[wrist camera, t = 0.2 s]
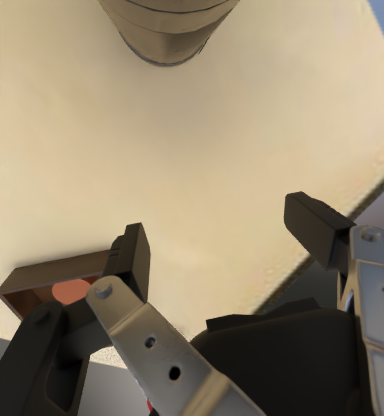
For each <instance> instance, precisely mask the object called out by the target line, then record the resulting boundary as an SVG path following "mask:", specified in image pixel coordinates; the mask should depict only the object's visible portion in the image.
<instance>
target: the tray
mask: <svg viewBox="0 0 384 416" xmlns="http://www.w3.org/2000/svg"><path fill="white" fill-rule="evenodd" d="M109 253H110V250H107V251H102V252H97V253H92V254H87V255H82V256H76V257H71V258H66V259H61V260H56V261H51V262H46V263H41V264H36V265H31V266H26V267H21V268H16V269H14V270H13V272H12V273H11V274H10V275H9V276H8V278H7V279H6V280H5V281H4V282H3V284H2V285H1V286H0V299H1V300H2V301H3V302H4V303H5V304H6V305H7V306H8V307H9V308H10V310H11V311H12V312H13V313H14V314H15V315H16V316H17V317H18V318H19V319H20V320H21V322H22V321H23V319H24V318H25V317H26V315H27V314H28V313H29V312H31V311H32V310H33V309H34V308H36V307H37V306H39V305H41V304H42V303H45V302H48V301H52V300H56V301H58V300H57V299H56V298H55V297H54V296H53V294H52V287H53V285H54V284H56V283H61V282H66V281H71V280H76V279H81V278H86V277H90V276H94V277H95V278H96V279H97V280H99V279H101V277H102V274H103V271H104V268H105V265H106V262H107V259H108V257H109ZM62 305H63V306H66V304H63V303H62ZM110 346H113V344H112V343H111V344H109V345H107V346H105V347H104V348H106V347H110Z"/></svg>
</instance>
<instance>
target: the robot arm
mask: <svg viewBox="0 0 384 416" xmlns="http://www.w3.org/2000/svg"><path fill="white" fill-rule="evenodd" d="M239 1H240V0H98V2H99V3H100V5H101V6H102V7H103V9H104V10H105V12H106V13H107V15H108V16H109V17H110V19H111V20H112V22H113V23H114V24H115V26H116V27H117V29H118V31H119V33H120V34H121V36H122V38H123V39H124V41H125V42H126V44H127V45H128V46H129V47H130V49H131V50H132V51H133V52H134V53H135V54H136V55H137V56H139V57H140V58H141V59H143V60H144V61H146V62H148V63H150V64H153V65H156V66H160V67H173V66H177V65H180V64H182V63H185V62H186V61H188V60H189V59H191V58H192V57H193V56H194V55H195V54H196V53H197V52H198V51H199V49H200V48H201V47H202V45H203V44H204V42H205V41H206V42H207V40H208V39H209V37H210V35H211V34H212V33H213V32H214V31H215V29H216V28H217V27H218V26H219V25H220V24H221V22H222V21H223V20H224V19H225V18H226V16H227V15H228V14H229V13H230V12H231V11H232V9H233V8H234V7H235V6H236V5H237V3H238V2H239ZM206 42H205V44H206ZM205 44H204V45H205ZM204 45H203V47H204ZM203 47H202V49H203ZM202 49H201V50H202ZM201 50H200V52H201ZM200 52H199V53H200ZM284 223H285V226H286V228H287V229H288V230H289V231H290V232H291V234H292V235H293V236H294V237H295V238H296V239H297V240H298V241H299V242H300V243H301V244H302V246H303V247H304V248H305V249H306V250H307V251H308V252H309V253H310V254H311V255H312V256H313V258H314V259H315V260H316V261H317V262H318V263H319V264H320V265H321V266H322V267H323V268H324V270H326V271H328V270H333V269H337V270H338V271H339V274H338V302H337V305H338V306H337V309H336V308H331V307H326V306H319V305H318V303H317V302H316V300H315V299H314V298H313V297H311V298H306V299H302V300H297V301H292V302H288V303H285V304H283V305H282V306H280V307H278V308H276V309H274V310H273V311H270V312H269V313H266V314H264V315H238V314H232V315H227V316H222V317H217V318H213V319H208V320H206V324H207V329H206V330H204V331H203V332H201V333H200V334H198V335H197V336H195V337H194V338H193V339H192V340H191V341H190V342H188V341H187V340H186V339H185V338H184V337H183V336H182V335H181V334H180V333H179V332H178V331H177V330H176V329H175V328H174V327H173V326H172V325H171V324H170V323H169V322H168V321H167V320H166V319H165V318H164V317H163V316H162V315H161V314H160V313H159V312H158V311H157V310H156V309H155V308H154V307H153V306H152V305H151V304H150V303H149V302H147V299H148V285H149V270H150V256H151V255H150V247H149V243H148V240H147V237H146V234H145V231H144V228H143V225H142V223H141V222H140V223H135V224H130V225H127V226H126V230H125V233H124V235H122V236H118V237H117V239H116V240H115V241H114V242H113V243H112V246H111V250H110V253H109V257H108V259H107V262H106V265H105V268H104V271H103V274H102V277H101V279H99V280H97V281H96V282H94V283H93V284H92V285H91V286H90V287H89V289H88V290H87V292H86V296H85V297H83V298H81V299H79V300H77V301H75V302H73V303H71V304H68V305H66V306H63V305H62V303H61V302H60V301H56V300H52V301H48V302H45V303H42V304H41V305H39V306H37V307H36V308H34V309H33V310H32V311H31V312H29V313H28V314H27V315H26V317H25V318H24V319H23V321H22V322H21V324H20V326H19V328H18V329H17V331H16V333H15V335H14V337H13V338H12V340H11V342H10V344H9V346H8V348H7V349H6V351H5V353H4V355H3V357H2V358H1V360H0V416H77V414H78V409H79V405H80V400H81V396H82V391H83V387H84V382H85V377H86V373H87V368H88V364H89V359H90V355H91V354H93V353H95V352H96V351H98V350H100V349H102V348H104V347H105V346H107V345H109V344H111V343H112V344H113V346H114V347H115V349H116V350H117V352H118V353H119V355H120V357H121V358H122V360H123V361H124V363H125V364H126V366H127V368H128V369H129V371H130V372H131V374H132V375H133V377H134V379H135V380H136V382H137V383H138V385H139V387H140V388H141V390H142V391H143V393H144V395H145V396H146V398H147V399H148V401H149V403H150V404H151V406H152V407H153V408H152V410H151V412H150V414H149V416H384V230H383V229H381V228H379V227H375V226H371V225H356V224H355V223H354V222H352V221H351V220H349V219H348V218H346V217H345V216H343V215H342V214H340V213H339V212H337V211H336V210H335V209H333V208H330V206H329V205H327V204H326V203H324V202H322V201H320V200H317V199H314V198H311V197H309V196H308V195H307V194H305V193H304V192H302V191H300V192H295V193H290V194H287V195H286V197H285V209H284Z"/></svg>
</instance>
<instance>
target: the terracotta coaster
mask: <svg viewBox="0 0 384 416" xmlns="http://www.w3.org/2000/svg"><path fill="white" fill-rule="evenodd" d="M96 281H97V279H96V278H95V277H94V276H90V277H86V278H81V279H76V280H71V281H66V282H61V283H56V284H54V285H53V287H52V294H53V296H54V297H55V298H56V299H57V300H58V301H60V302H61V303H63V304H66V305H68V304H71V303H73V302H75V301H77V300H79V299H81V298H83V297H85V296H86V292H87V290H88V289H89V287H90V286H91V285H92V284H93V283H94V282H96Z"/></svg>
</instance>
